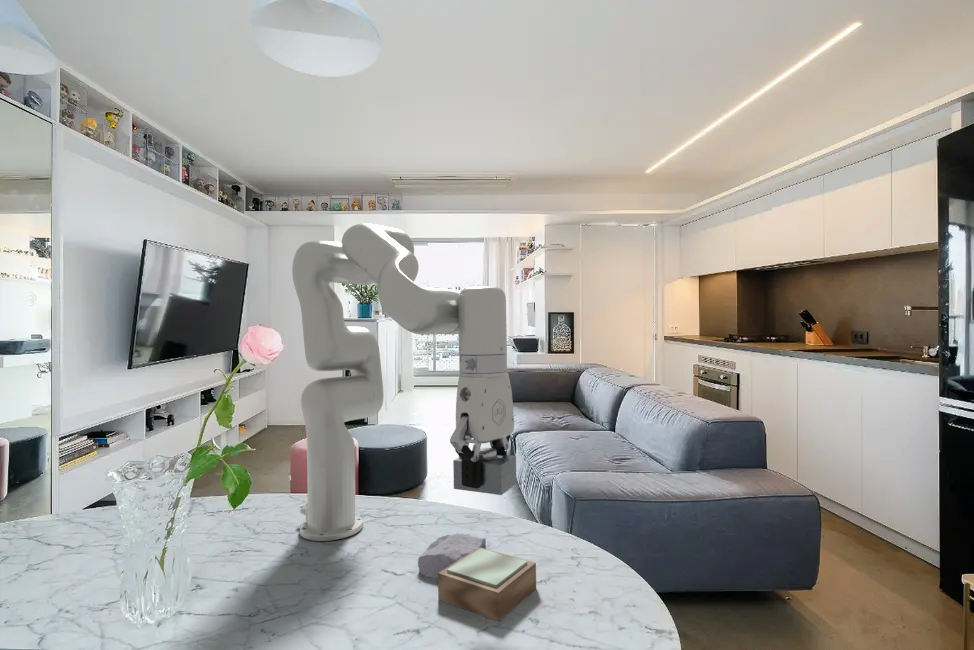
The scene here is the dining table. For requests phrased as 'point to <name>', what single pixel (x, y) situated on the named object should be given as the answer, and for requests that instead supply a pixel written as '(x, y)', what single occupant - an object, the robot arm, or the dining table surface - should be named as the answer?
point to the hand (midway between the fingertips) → (485, 479)
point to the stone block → (447, 552)
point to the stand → (487, 582)
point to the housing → (490, 472)
